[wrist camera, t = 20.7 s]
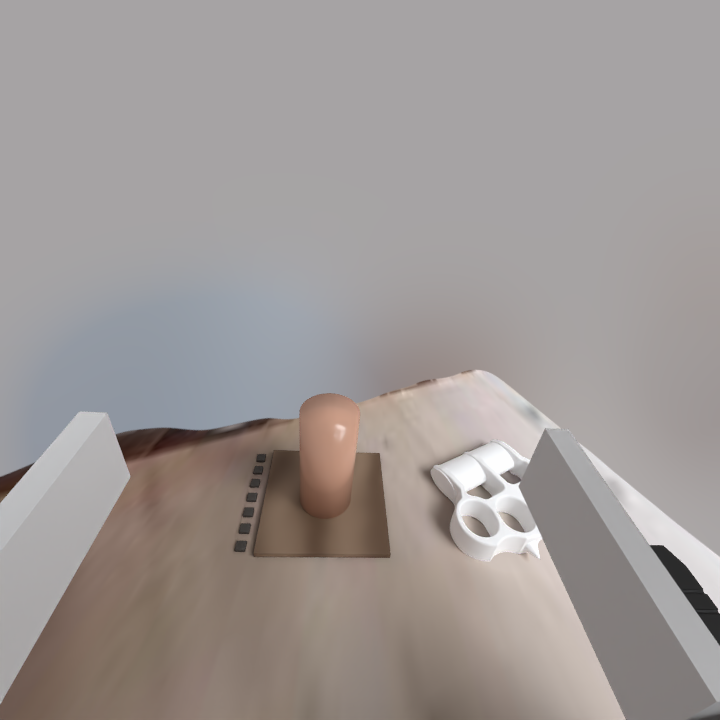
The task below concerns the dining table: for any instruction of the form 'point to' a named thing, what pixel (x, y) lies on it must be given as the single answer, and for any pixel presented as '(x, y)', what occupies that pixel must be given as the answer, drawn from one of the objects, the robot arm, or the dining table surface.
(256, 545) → the stub board
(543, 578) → the dining table surface
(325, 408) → the canister
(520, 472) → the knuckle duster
